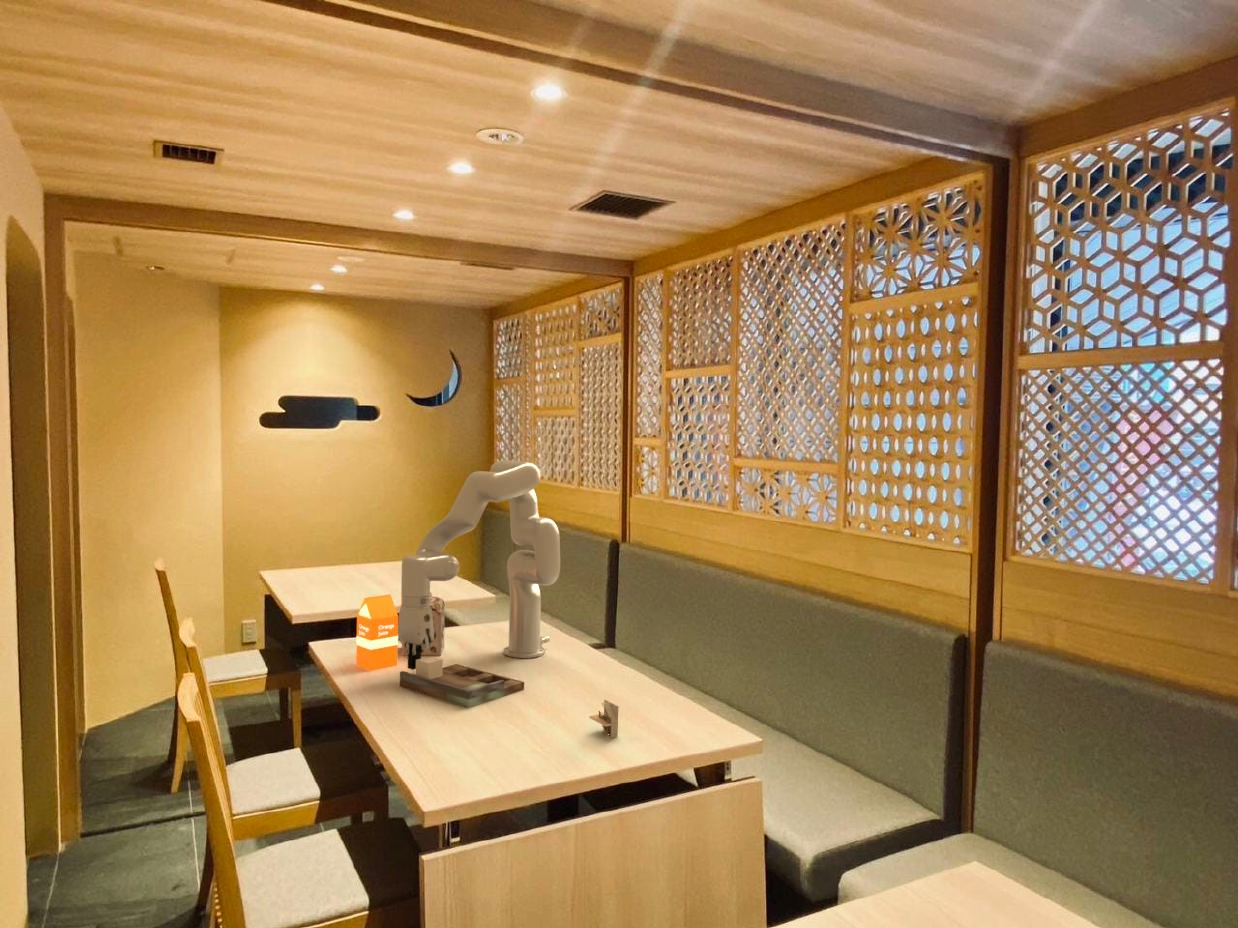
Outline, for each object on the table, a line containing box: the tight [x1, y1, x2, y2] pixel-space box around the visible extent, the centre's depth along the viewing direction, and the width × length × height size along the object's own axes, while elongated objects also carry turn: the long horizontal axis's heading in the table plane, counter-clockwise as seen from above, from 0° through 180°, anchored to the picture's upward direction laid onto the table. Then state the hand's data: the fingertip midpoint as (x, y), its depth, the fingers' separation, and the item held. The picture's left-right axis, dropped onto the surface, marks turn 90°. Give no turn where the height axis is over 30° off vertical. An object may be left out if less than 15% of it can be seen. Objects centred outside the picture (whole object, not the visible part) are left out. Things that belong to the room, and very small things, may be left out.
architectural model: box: [589, 699, 619, 738], centre depth 201 cm, size 3×7×7 cm, turn 34°
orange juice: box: [355, 594, 399, 672], centre depth 252 cm, size 8×9×20 cm
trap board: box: [399, 663, 525, 709], centre depth 233 cm, size 20×26×4 cm
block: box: [415, 656, 444, 679], centre depth 236 cm, size 5×5×4 cm
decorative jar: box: [401, 592, 445, 657], centre depth 268 cm, size 12×12×18 cm
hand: (414, 667), depth 239 cm, fingers closed
